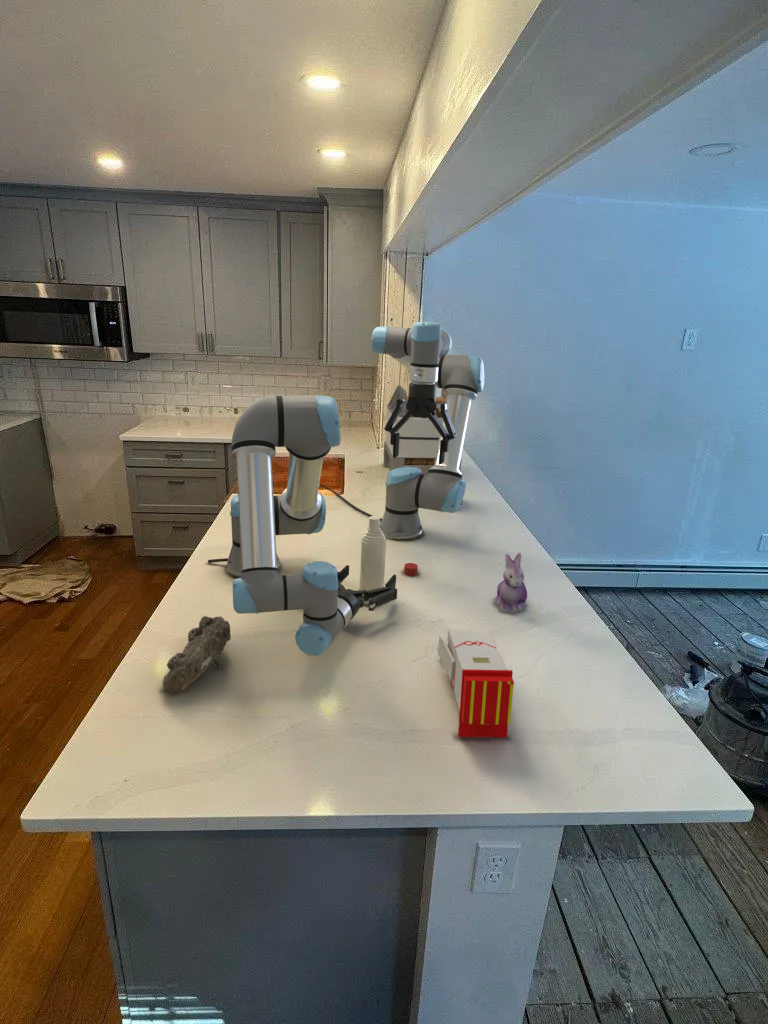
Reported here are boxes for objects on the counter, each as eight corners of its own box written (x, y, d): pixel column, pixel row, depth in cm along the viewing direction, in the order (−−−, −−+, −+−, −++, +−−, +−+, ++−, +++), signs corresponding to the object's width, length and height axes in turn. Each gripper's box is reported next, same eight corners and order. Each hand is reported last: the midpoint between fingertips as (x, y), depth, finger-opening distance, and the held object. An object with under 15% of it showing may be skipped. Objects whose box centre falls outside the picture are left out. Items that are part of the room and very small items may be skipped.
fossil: (186, 619, 132) (231, 589, 127) (214, 646, 135) (260, 618, 130) (141, 685, 113) (192, 653, 108) (176, 716, 116) (227, 686, 111)
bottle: (368, 585, 162) (371, 511, 154) (388, 592, 158) (392, 517, 151) (354, 594, 157) (356, 517, 149) (374, 601, 153) (377, 524, 145)
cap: (401, 572, 171) (401, 565, 170) (410, 568, 173) (410, 561, 173) (410, 577, 168) (411, 569, 167) (420, 573, 171) (420, 566, 170)
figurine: (509, 617, 148) (516, 565, 143) (485, 599, 156) (491, 550, 151) (537, 610, 152) (544, 559, 147) (512, 593, 161) (519, 544, 156)
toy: (488, 613, 130) (523, 677, 101) (484, 667, 133) (517, 744, 104) (435, 612, 130) (455, 676, 101) (432, 666, 133) (451, 743, 103)
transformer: (382, 463, 289) (386, 382, 275) (445, 464, 293) (451, 384, 279) (390, 482, 257) (394, 392, 243) (460, 483, 261) (468, 394, 247)
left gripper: (292, 613, 140) (329, 578, 158) (387, 635, 132) (414, 595, 151) (291, 586, 137) (329, 553, 156) (388, 607, 129) (415, 570, 148)
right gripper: (374, 380, 153) (372, 456, 160) (465, 388, 144) (457, 468, 151) (385, 377, 159) (382, 451, 167) (472, 385, 151) (464, 462, 158)
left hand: (371, 574), depth 153 cm, fingers open, 13 cm apart
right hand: (418, 459), depth 159 cm, fingers open, 13 cm apart
